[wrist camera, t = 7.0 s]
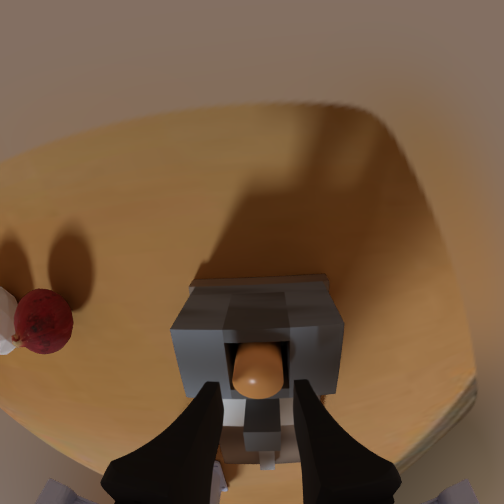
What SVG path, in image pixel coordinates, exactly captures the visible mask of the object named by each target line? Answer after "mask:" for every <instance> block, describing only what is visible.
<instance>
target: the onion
mask: <svg viewBox="0 0 504 504" xmlns="http://www.w3.org/2000/svg"><path fill="white" fill-rule="evenodd" d="M14 328H15V332H16V333H15V334H14V335H12V336H11V339H12V344H13V345H14V346H16V347H17V348H19V347H26V348H28V349H29V350H31V351H33V352H36V353H39V354H50V353H54V352H56V351H58V350H60V349H61V348H63V347H64V345H65V344H66V343H67V342H68V340H69V339H70V337H71V333H72V328H73V317H72V312H71V309H70V307H69V305H68V303H67V302H66V301H65V300H64V298H63V297H62V296H60V295H59V294H57V293H55V292H53V291H51V290H47V289H35V290H32V291H31V292H29V293H28V294H26V295H25V296H24V297H23V298H22V299H21V300H20V301H19V303H18V306H17V308H16V311H15V314H14Z"/></svg>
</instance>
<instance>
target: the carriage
mask: <svg viewBox="0 0 504 504" xmlns="http://www.w3.org/2000/svg"><path fill="white" fill-rule="evenodd" d="M222 400H223V405H224V419H223V426H244V428H243V435H244V442H245V449H246V451H281V426H282V425H294V420H293V398H276V399H222Z"/></svg>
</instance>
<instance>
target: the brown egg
mask: <svg viewBox="0 0 504 504" xmlns="http://www.w3.org/2000/svg"><path fill="white" fill-rule="evenodd" d="M232 382H233V386H234V388H235V389H236V390H237V391H238V392H239V393H240V394H242V395H243V396H246V397H248V398H252V399H264V398H268V397H271V396H273V395H275V394H276V393H278V392H279V391H280V390H281V388H282V386H283V382H284V379H283V366H282V354H281V343H280V341H278V342H251V343H238V346H237V352H236V359H235V365H234V372H233V378H232Z"/></svg>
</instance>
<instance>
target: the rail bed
mask: <svg viewBox="0 0 504 504" xmlns="http://www.w3.org/2000/svg"><path fill="white" fill-rule="evenodd" d="M189 293H190V296H189V298H188V300H187V301H186V303H185V305H184V306H183V308H182V310H181V311H180V313H179V315H178V317H177V318H176V320H175V322H174V323H173V325H172V327H171V328H170V332H171V336H172V341H173V345H174V350H175V354H176V358H177V362H178V366H179V370H180V374H181V378H182V382H183V386H184V389H185V393H186V397H191V398H195V396H196V395H197V394H198V392H199V391H200V389H201V388H202V387H203V385H204V384H205V382H207V381H215V382H219V383H220V389H221V394H222V399H252V398H248V397H246V396H243V395H242V394H240V393H239V392H238V391H237V390H236V389H235V388H234V386H233V382H232V378H233V372H234V365H235V359H236V352H237V346H238V343H251V342H278V341H280V343H281V354H282V366H283V379H284V382H283V386H282V388H281V390H280V391H279V392H278V393H276V394H275V395H273V396H271V397H268V398H264V399H276V398H293V389H294V380H300V379H307V380H309V382H310V384H311V386H312V388H313V390H314V392H315V393H316V395H317V397H318V398H319V400H320V397H321V395H327V394H336V387H337V381H338V374H339V367H340V359H341V351H342V343H343V333H344V322H343V320H342V318H341V316H340V314H339V312H338V310H337V308H336V306H335V304H334V302H333V300H332V298H331V296H330V294H329V279H328V278H327V276H326V274H312V275H293V276H273V277H250V278H224V279H193V281H192V282H191V284H190V285H189ZM243 428H244V426H223V428H222V432H221V437H220V441H219V443H220V447H221V451H222V455H223V458H224V462H225V463H228V464H260V470H275V464H279V463H296V462H301V461H300V455H299V450H298V445H297V440H296V434H295V429H294V425H282V426H281V451H246V449H245V442H244V435H243Z"/></svg>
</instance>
